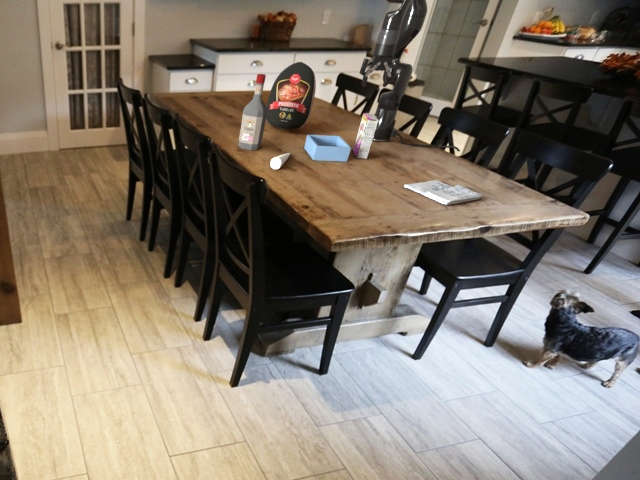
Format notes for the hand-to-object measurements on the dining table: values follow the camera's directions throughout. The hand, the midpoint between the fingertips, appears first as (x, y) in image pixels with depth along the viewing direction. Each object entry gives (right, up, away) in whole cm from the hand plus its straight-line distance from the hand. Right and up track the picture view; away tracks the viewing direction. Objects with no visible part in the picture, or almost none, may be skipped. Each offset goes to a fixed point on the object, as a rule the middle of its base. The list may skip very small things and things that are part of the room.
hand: (373, 86), depth 209 cm
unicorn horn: (-38, -31, +3) cm, 50 cm away
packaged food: (-23, +2, +46) cm, 52 cm away
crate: (-16, -24, +13) cm, 31 cm away
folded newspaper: (+15, -52, -21) cm, 58 cm away
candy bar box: (0, -24, +14) cm, 28 cm away
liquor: (-48, -18, +19) cm, 55 cm away
